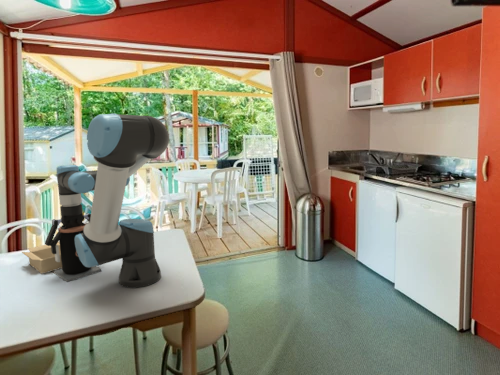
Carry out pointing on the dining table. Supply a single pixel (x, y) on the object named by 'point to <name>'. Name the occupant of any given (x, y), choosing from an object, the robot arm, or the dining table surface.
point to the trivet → (76, 276)
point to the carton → (43, 258)
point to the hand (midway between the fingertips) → (76, 256)
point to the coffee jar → (71, 251)
